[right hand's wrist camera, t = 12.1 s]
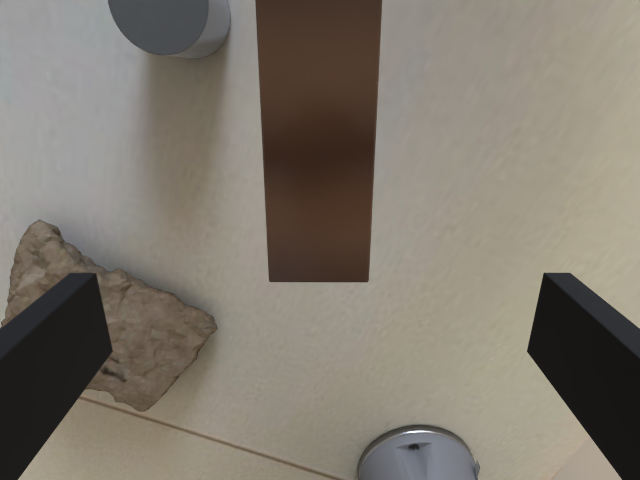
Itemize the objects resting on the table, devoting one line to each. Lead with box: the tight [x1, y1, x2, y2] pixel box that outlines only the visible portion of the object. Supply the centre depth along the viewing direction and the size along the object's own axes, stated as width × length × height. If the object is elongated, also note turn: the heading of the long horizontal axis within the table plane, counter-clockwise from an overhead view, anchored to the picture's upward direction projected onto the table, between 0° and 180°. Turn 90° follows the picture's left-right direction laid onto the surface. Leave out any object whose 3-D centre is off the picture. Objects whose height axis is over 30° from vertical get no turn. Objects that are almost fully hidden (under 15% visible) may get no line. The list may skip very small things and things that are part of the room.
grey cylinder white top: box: [108, 0, 231, 58], centre depth 33 cm, size 7×7×8 cm
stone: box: [0, 220, 217, 411], centre depth 45 cm, size 21×15×6 cm
